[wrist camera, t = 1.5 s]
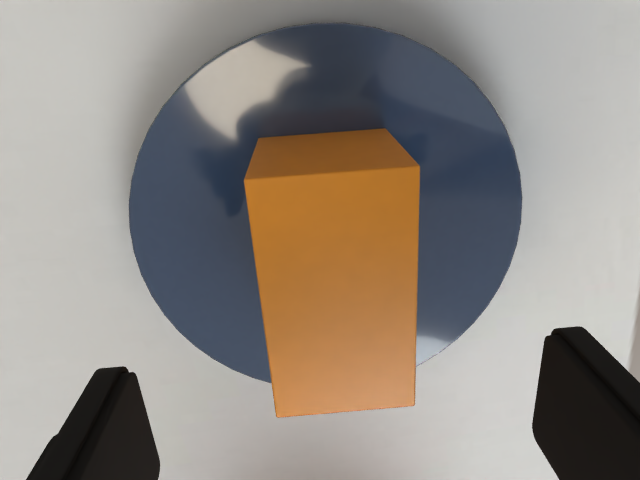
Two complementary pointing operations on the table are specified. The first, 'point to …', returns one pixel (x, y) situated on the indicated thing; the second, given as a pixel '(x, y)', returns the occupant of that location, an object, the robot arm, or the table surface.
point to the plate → (312, 118)
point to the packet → (336, 268)
